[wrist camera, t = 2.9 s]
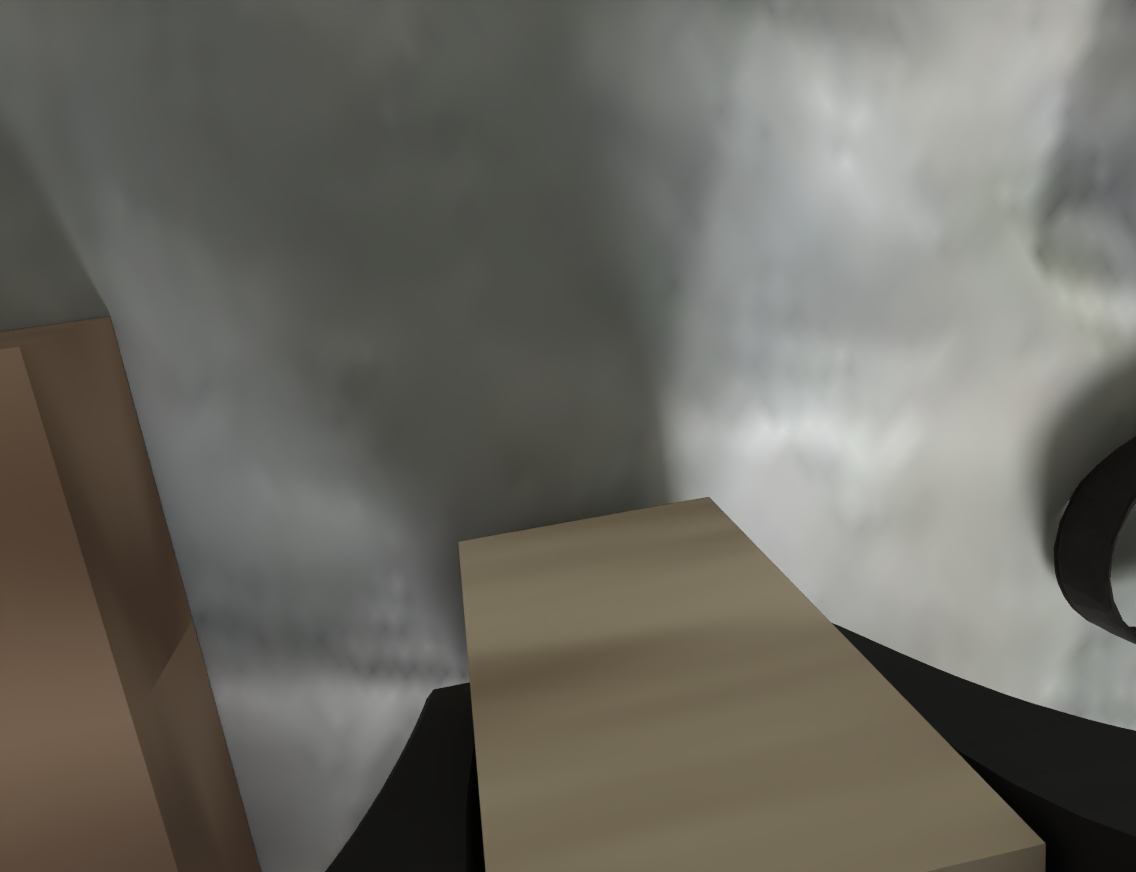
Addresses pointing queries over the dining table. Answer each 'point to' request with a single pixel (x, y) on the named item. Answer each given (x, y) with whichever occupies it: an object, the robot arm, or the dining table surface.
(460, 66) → the dining table surface
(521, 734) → the beech peg
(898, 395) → the dining table surface
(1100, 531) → the watch
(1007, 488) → the dining table surface
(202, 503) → the dining table surface
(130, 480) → the socket block
